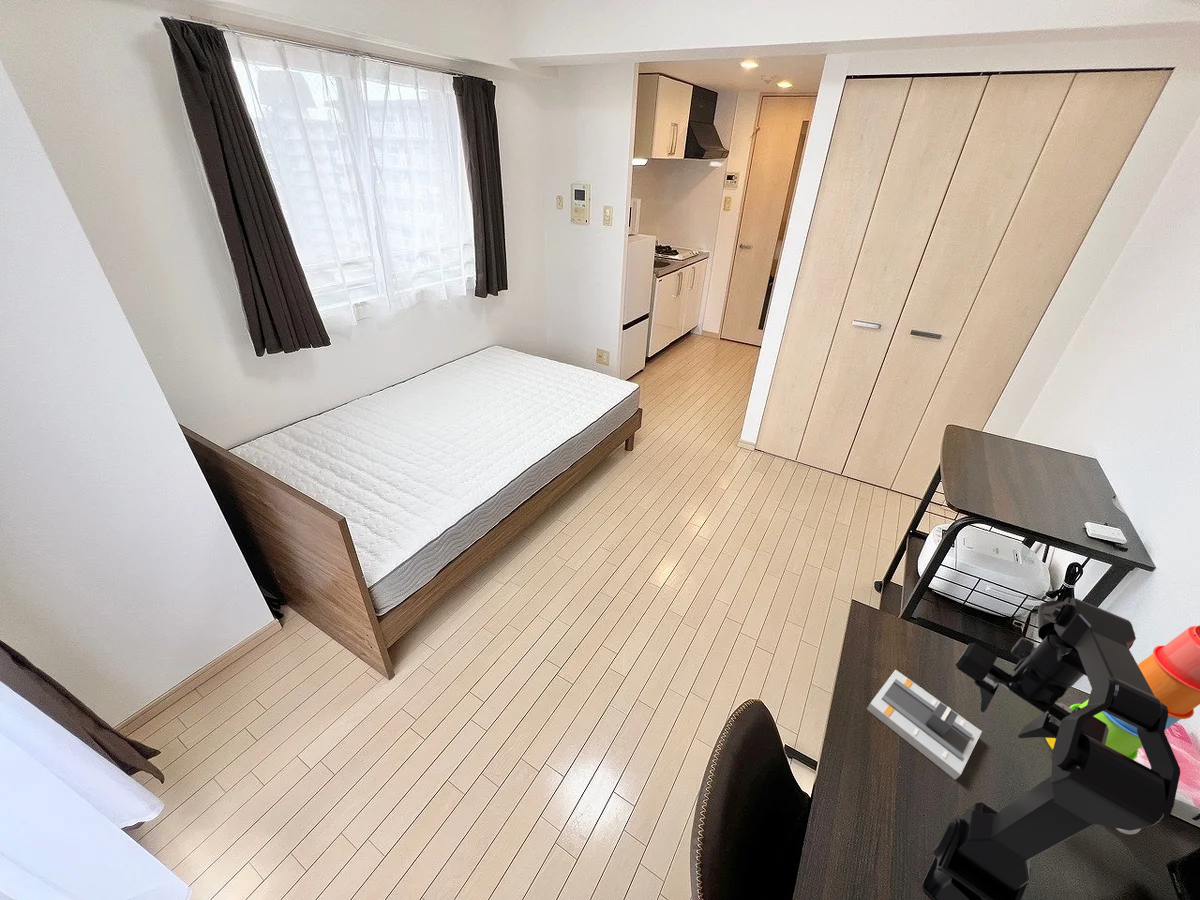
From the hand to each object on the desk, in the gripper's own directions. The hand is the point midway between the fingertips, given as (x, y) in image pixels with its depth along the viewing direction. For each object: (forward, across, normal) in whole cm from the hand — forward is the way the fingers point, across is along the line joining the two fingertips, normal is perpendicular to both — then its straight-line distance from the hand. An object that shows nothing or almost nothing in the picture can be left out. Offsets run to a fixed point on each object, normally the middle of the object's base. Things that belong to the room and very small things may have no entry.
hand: (1000, 722), depth 82 cm
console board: (+12, +8, 0) cm, 14 cm away
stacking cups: (+12, -13, -19) cm, 26 cm away
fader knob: (+10, +6, 0) cm, 11 cm away
